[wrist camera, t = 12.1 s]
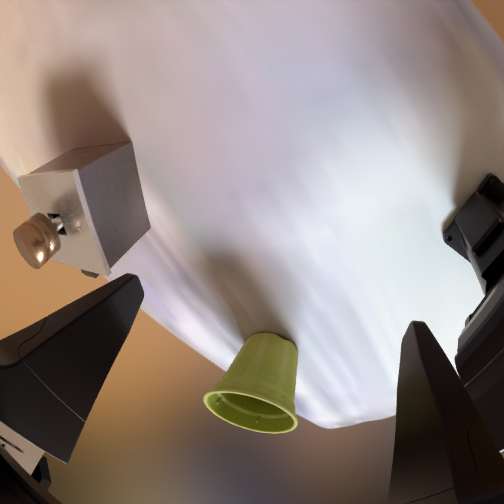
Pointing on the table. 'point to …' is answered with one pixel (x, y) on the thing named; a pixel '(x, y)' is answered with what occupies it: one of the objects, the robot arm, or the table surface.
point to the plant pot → (259, 386)
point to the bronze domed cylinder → (38, 239)
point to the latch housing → (90, 204)
